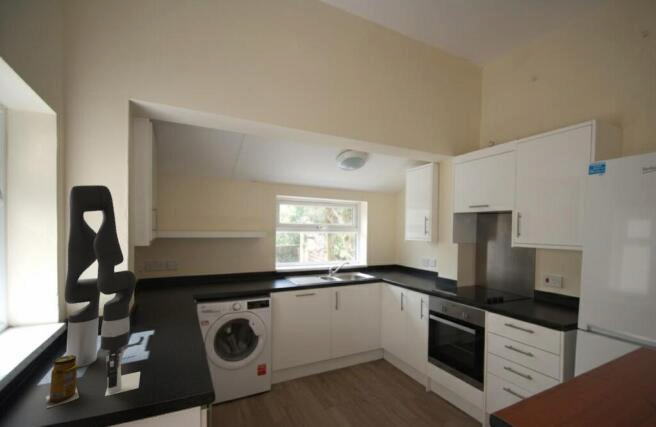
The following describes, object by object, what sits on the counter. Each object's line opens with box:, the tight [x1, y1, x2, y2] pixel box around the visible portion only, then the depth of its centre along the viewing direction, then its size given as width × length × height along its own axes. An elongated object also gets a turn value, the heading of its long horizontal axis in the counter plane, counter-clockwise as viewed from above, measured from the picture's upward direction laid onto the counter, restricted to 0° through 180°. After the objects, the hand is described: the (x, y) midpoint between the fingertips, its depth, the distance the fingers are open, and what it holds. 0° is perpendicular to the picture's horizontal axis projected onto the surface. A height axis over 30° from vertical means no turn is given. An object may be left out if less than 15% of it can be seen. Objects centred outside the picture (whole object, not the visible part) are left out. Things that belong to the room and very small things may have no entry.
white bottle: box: [105, 359, 122, 393], centre depth 92 cm, size 4×4×12 cm
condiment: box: [45, 355, 80, 409], centre depth 88 cm, size 7×8×12 cm
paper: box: [104, 371, 141, 397], centre depth 96 cm, size 12×9×1 cm
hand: (113, 383), depth 92 cm, fingers closed on white bottle, 3 cm apart
